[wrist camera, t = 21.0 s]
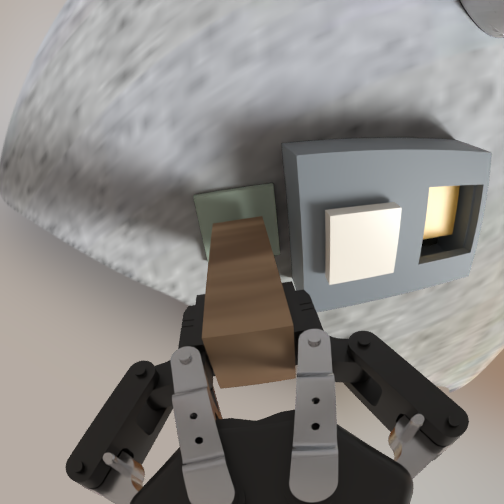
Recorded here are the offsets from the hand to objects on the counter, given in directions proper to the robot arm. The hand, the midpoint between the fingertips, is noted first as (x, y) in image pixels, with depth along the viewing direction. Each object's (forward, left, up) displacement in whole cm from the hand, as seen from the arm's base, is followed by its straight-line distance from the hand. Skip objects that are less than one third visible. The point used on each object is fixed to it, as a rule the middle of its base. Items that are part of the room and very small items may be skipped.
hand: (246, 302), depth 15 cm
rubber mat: (0, 0, -10) cm, 10 cm away
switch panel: (0, +13, -10) cm, 16 cm away
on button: (0, +8, -7) cm, 11 cm away
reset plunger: (0, +17, -9) cm, 19 cm away
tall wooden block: (0, 0, -7) cm, 7 cm away
